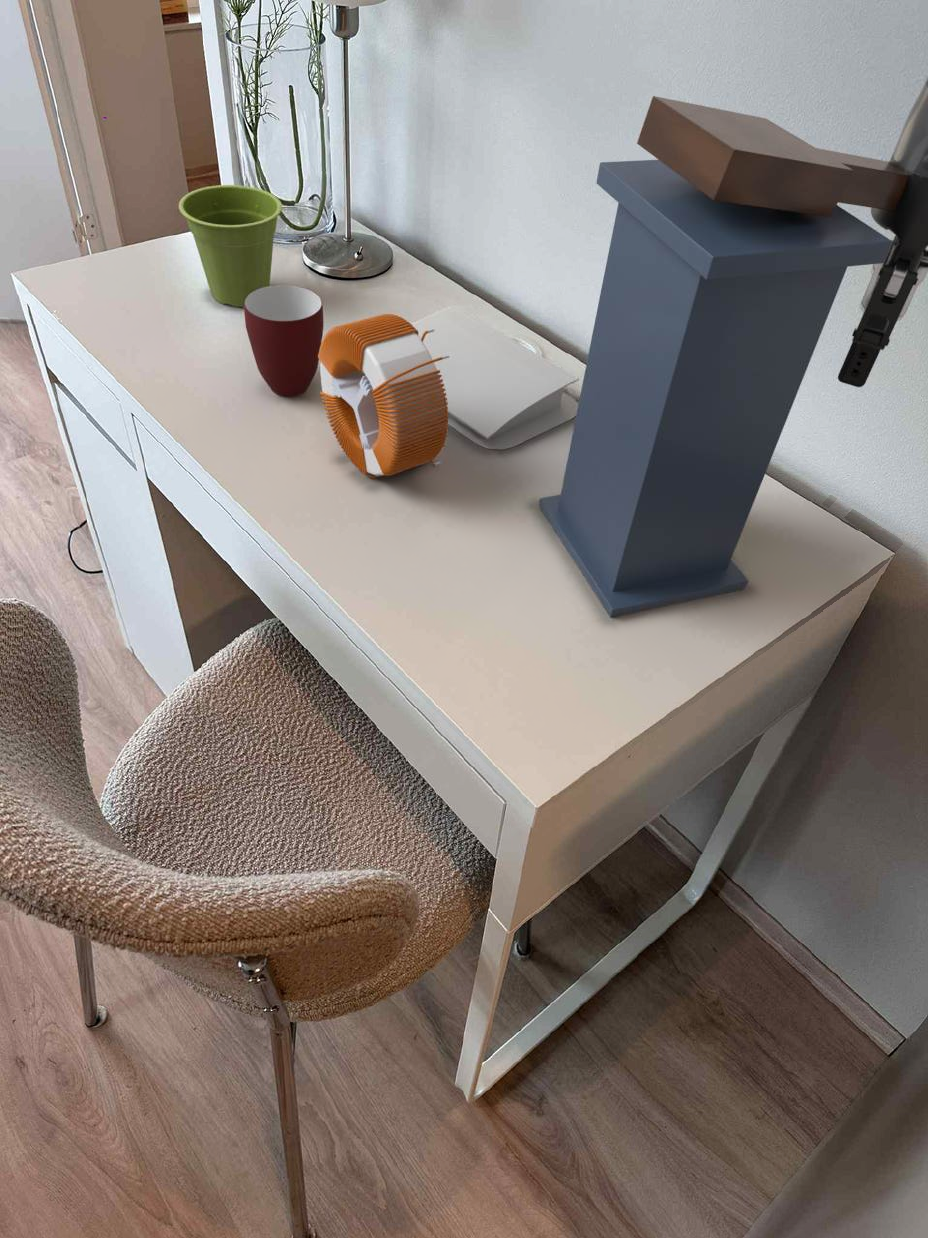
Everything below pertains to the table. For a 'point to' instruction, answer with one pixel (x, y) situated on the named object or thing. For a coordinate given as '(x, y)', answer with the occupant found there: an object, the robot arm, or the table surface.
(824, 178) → the paddle
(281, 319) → the mug
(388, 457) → the coil
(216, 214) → the plant pot
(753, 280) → the blue tapered column stand
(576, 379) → the book
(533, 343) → the table surface
